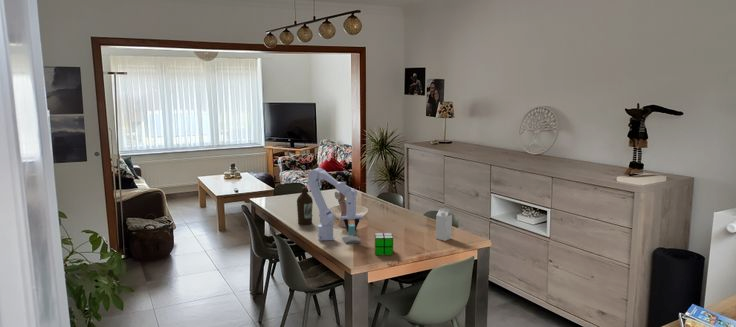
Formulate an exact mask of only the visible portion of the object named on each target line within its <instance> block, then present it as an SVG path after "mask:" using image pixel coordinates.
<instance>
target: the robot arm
mask: <svg viewBox="0 0 736 327" xmlns="http://www.w3.org/2000/svg"><path fill="white" fill-rule="evenodd" d="M307 178H308V180H307V181H308V183H307V185H308V188H309V191H310V192H311V195H312V197H313V200H314V202H315V205H316V206H317V207H316V208H317V209H318V211H319V213H318V217H319V223H320V224H318V225H317V228H318V229H317V237H318V242H319V241H335V236H334V222H335V219H336V218H335V216H336V215H335V214H334V212H332V211H331V209H330V208H328V206H327V203H326V200H325V198H324V196H323V194H322V191H321V189H320V187H319V183H320V180H322V181H323V180H325V181H327V183H329V184H330V185H332V186H334V187H335V190H336V191H337V192H338V193H339V192H340V193H342V194H343V195H345V199H346V200H347V216H341V215H339V217H338V220H344V223H345V225H346V227H345V228H346V232H347V233H348V220H349V221H351V220H352V221H353V220H354V225H355V232H357V227H358V224H359V223H360V220H364V215H357V196H358V191H357V190H356V189H355V188H352V187H350V186H349V185H347V183H346V184H345V183H344V182H345V181H338V180H337V179H335V178H334V177H333V176H332V175H331V174H330V173H328V172H327V171H326V170H325V169H323V168H321V167H316V168H314V169H311V170H310V171H309V172H308V174H307Z"/></svg>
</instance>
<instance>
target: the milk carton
mask: <svg viewBox="0 0 736 327" xmlns="http://www.w3.org/2000/svg"><path fill="white" fill-rule="evenodd" d="M435 221H436V222H435V239H436V240H439V241H444V242H447V241H449V240H451V239H452V235H453V234H452V232H453V231H452V229H453V225H452V224H453V214H452V213H451V211H450V209H447V208H442V207H439V209H438V211H437V213H436V216H435Z"/></svg>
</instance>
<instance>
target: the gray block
mask: <svg viewBox="0 0 736 327" xmlns="http://www.w3.org/2000/svg"><path fill="white" fill-rule="evenodd" d="M341 240H342V241H343V242H344V244H345V245H351V244H352V245H353V244H360V243H361V239H360V238H359V237H358V236H357V235H356V236H355V235H352V236H344V237H343V236H342V238H341Z"/></svg>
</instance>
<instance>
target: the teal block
mask: <svg viewBox="0 0 736 327" xmlns="http://www.w3.org/2000/svg"><path fill="white" fill-rule="evenodd" d="M347 235H348V236H355V235H356V231H355V223H352V224H350V225H348V232H347Z"/></svg>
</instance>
